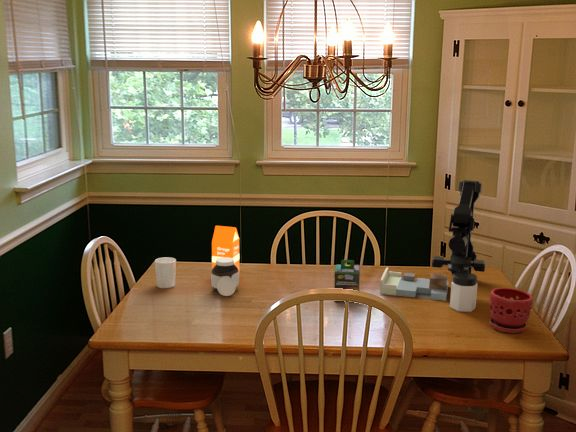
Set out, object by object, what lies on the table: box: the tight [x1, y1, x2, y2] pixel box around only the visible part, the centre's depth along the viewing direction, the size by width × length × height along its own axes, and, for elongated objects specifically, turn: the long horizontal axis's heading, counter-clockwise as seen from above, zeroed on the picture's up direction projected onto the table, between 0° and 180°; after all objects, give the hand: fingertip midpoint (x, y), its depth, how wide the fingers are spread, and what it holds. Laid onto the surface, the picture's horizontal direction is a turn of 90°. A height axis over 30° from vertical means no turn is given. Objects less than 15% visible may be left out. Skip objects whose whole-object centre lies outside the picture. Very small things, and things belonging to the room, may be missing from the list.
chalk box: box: [333, 259, 361, 303], centre depth 245 cm, size 9×9×15 cm
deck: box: [379, 266, 449, 302], centre depth 255 cm, size 24×16×6 cm, turn 74°
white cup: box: [154, 256, 177, 289], centre depth 255 cm, size 8×8×10 cm
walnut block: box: [429, 272, 448, 290], centre depth 252 cm, size 6×6×4 cm
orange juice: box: [211, 225, 241, 271], centre depth 268 cm, size 8×9×20 cm
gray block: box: [402, 272, 416, 282], centre depth 261 cm, size 4×4×4 cm
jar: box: [449, 272, 478, 313], centre depth 237 cm, size 9×8×12 cm
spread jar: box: [210, 257, 240, 297], centre depth 250 cm, size 12×11×12 cm
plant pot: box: [489, 287, 534, 334], centre depth 220 cm, size 13×13×12 cm
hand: (456, 285), depth 251 cm, fingers closed
